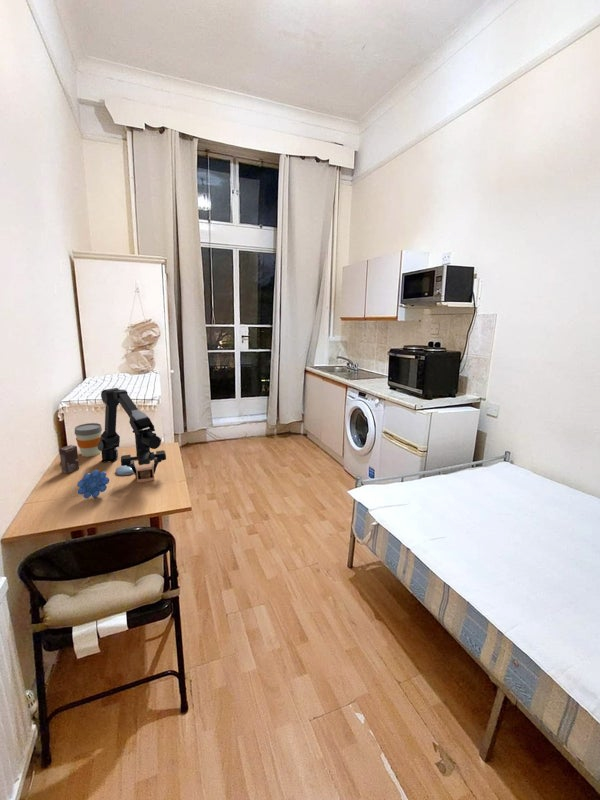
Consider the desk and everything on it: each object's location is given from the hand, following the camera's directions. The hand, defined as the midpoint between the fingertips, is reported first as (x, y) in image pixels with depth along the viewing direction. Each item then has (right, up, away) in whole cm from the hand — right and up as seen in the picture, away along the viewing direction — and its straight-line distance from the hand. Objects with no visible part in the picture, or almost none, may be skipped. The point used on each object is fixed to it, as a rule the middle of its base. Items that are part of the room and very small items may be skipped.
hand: (145, 474), depth 164 cm
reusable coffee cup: (-40, +6, +26) cm, 48 cm away
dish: (-12, +1, +7) cm, 14 cm away
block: (0, -2, 0) cm, 2 cm away
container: (0, -1, 0) cm, 2 cm away
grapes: (-14, -6, -16) cm, 22 cm away
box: (-38, +1, +5) cm, 38 cm away
